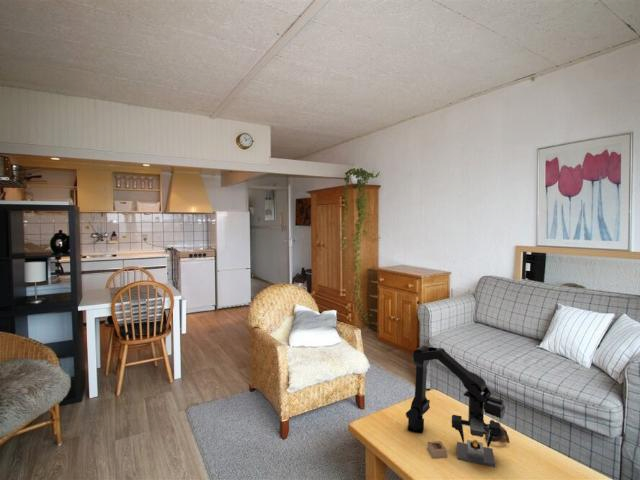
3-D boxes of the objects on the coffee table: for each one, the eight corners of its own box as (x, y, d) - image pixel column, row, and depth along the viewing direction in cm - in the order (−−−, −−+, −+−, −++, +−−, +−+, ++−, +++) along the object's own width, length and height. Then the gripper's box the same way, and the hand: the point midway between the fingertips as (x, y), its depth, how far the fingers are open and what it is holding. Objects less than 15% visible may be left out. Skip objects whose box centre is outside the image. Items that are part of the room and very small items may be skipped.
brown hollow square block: (432, 458, 145) (433, 451, 145) (427, 448, 151) (427, 442, 151) (447, 457, 146) (447, 450, 146) (440, 447, 152) (440, 441, 152)
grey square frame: (467, 455, 145) (467, 448, 145) (466, 446, 151) (467, 439, 150) (483, 458, 143) (483, 451, 143) (482, 449, 149) (482, 442, 148)
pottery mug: (515, 447, 152) (508, 434, 150) (493, 454, 154) (487, 442, 152) (502, 424, 163) (496, 412, 161) (482, 431, 165) (476, 419, 163)
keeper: (457, 459, 145) (457, 445, 144) (456, 444, 154) (457, 430, 153) (495, 467, 140) (495, 452, 139) (492, 451, 149) (492, 437, 149)
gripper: (452, 415, 141) (451, 452, 142) (504, 423, 135) (503, 462, 136) (451, 400, 151) (451, 435, 153) (500, 408, 145) (499, 444, 146)
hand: (475, 444), depth 146 cm, fingers open, 9 cm apart
